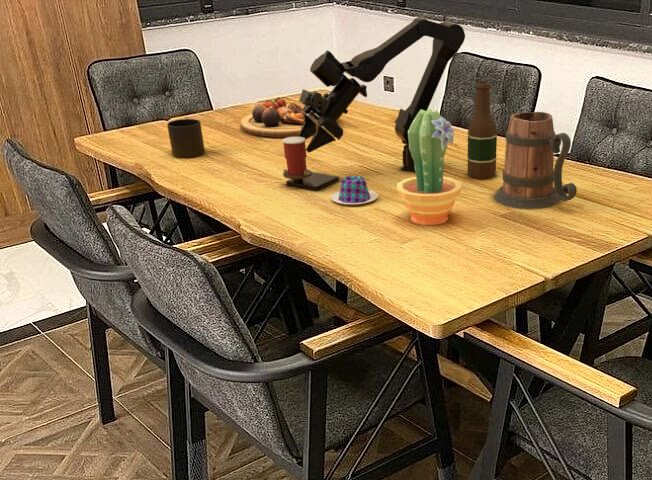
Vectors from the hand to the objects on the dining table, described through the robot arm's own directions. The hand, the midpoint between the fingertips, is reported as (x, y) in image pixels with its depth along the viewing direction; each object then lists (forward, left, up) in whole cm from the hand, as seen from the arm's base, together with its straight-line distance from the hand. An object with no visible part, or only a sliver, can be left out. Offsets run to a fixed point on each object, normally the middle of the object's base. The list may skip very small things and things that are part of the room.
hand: (302, 147), depth 217 cm
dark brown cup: (+50, -7, -10) cm, 52 cm away
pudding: (-19, +4, -10) cm, 22 cm away
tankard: (-60, -17, -10) cm, 63 cm away
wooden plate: (+43, -47, -10) cm, 64 cm away
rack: (-1, -1, -10) cm, 10 cm away
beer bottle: (-38, -29, -10) cm, 49 cm away
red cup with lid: (+1, +2, -6) cm, 7 cm away
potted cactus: (-43, +7, -10) cm, 44 cm away
